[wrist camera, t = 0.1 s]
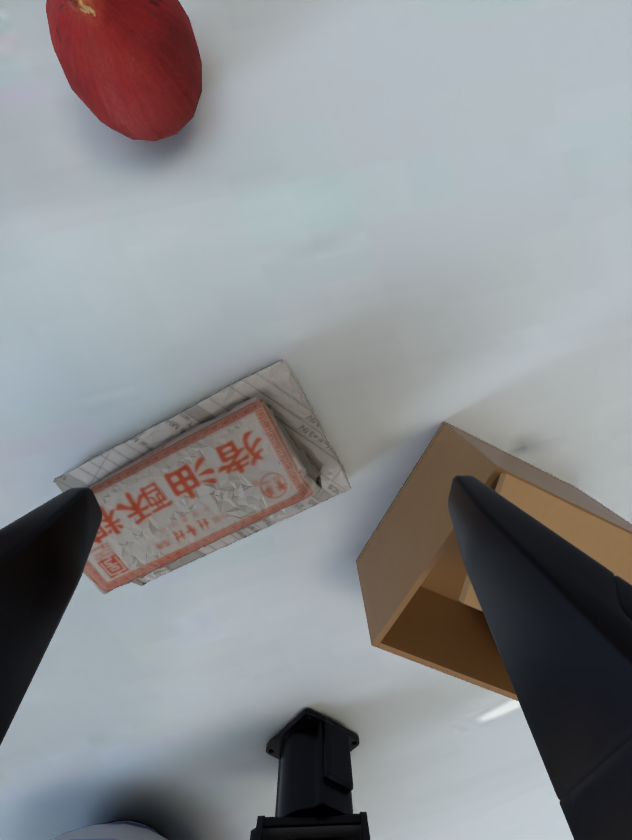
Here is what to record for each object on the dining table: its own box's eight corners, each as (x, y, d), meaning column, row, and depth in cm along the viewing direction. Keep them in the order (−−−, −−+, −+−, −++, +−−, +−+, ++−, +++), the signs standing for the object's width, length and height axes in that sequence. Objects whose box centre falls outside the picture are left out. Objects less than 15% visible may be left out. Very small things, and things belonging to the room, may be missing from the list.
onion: (103, 29, 18) (-45, -173, 11) (217, 38, 18) (151, -155, 11) (116, 162, 20) (-5, 70, 12) (220, 169, 20) (164, 82, 12)
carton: (443, 421, 25) (496, 465, 18) (577, 488, 26) (675, 553, 19) (355, 560, 28) (371, 645, 21) (480, 612, 30) (533, 706, 23)
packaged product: (112, 627, 23) (8, 508, 21) (145, 575, 28) (63, 472, 25) (359, 514, 21) (278, 366, 19) (351, 478, 26) (284, 355, 23)
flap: (500, 472, 17) (506, 472, 17) (681, 560, 19) (690, 563, 19) (458, 600, 16) (463, 603, 16) (653, 681, 18) (662, 686, 18)
